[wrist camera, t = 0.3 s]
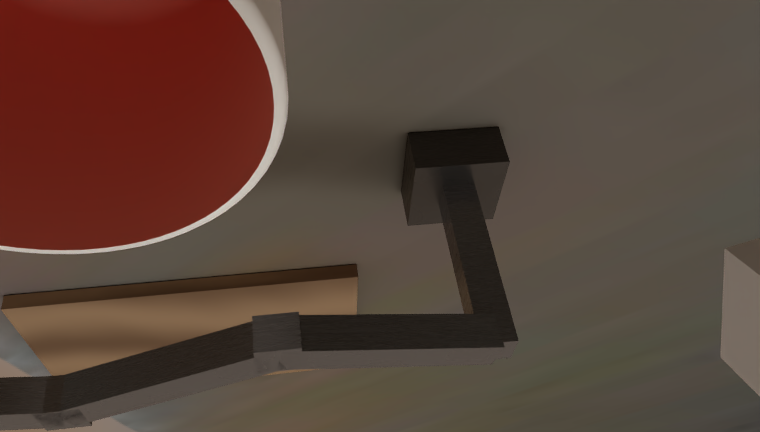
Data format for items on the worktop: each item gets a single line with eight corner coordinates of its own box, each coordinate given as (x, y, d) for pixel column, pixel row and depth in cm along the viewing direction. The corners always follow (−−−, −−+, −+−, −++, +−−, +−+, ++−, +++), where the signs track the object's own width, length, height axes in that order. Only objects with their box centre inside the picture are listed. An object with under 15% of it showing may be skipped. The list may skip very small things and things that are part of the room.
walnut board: (3, 295, 36) (1, 309, 35) (356, 264, 38) (358, 276, 37) (69, 384, 44) (68, 396, 44) (352, 354, 47) (354, 365, 46)
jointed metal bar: (-208, 169, 27) (-322, 412, 21) (499, 122, 30) (565, 321, 25) (-143, 238, 31) (-225, 460, 25) (482, 189, 34) (535, 376, 28)
